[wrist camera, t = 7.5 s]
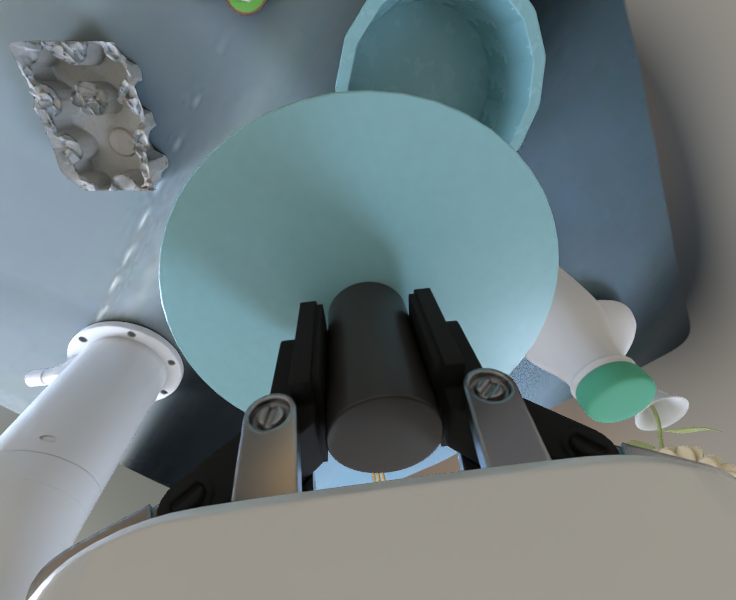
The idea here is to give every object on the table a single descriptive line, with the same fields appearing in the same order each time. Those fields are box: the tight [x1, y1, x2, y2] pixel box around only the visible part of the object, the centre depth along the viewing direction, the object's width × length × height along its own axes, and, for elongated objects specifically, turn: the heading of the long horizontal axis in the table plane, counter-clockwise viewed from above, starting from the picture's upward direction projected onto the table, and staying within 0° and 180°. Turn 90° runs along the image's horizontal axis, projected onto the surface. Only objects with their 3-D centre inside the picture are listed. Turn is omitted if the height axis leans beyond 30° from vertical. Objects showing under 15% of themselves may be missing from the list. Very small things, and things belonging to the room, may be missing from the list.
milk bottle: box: [524, 266, 656, 423], centre depth 31 cm, size 8×8×20 cm
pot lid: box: [159, 90, 559, 473], centre depth 11 cm, size 15×15×7 cm
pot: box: [335, 0, 546, 151], centre depth 26 cm, size 14×19×8 cm
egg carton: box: [8, 41, 168, 191], centre depth 28 cm, size 11×8×4 cm
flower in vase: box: [596, 300, 736, 477], centre depth 35 cm, size 13×11×25 cm
